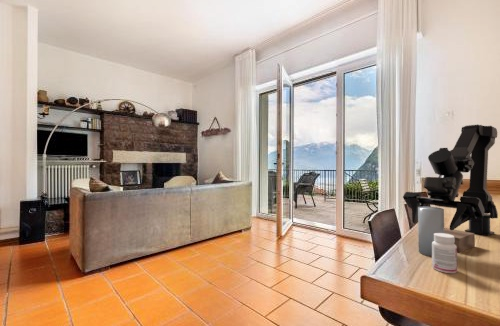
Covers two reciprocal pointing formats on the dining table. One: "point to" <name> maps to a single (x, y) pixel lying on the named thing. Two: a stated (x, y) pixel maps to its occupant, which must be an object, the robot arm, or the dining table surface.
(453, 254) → the pill bottle
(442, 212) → the grey cylinder
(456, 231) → the walnut box
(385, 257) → the dining table surface
